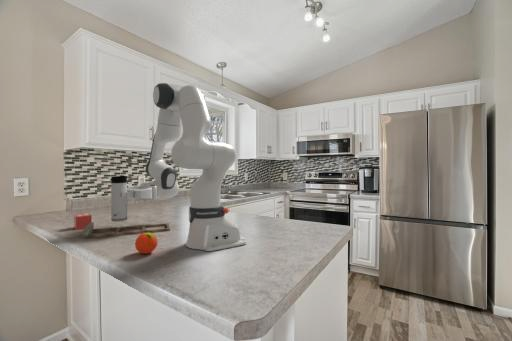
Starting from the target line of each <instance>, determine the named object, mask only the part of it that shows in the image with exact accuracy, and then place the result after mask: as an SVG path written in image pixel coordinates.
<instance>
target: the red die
mask: <svg viewBox="0 0 512 341" xmlns="http://www.w3.org/2000/svg"><path fill="white" fill-rule="evenodd" d="M90 223H92V214H90V213H82V214H81V213H80V214H73V228H74V230H75V231H77V230H84V228H85V227H86V226H87V225H88V224H90Z"/></svg>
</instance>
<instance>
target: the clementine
mask: <svg viewBox="0 0 512 341" xmlns="http://www.w3.org/2000/svg"><path fill="white" fill-rule="evenodd" d="M157 246H158V238H157V235H155V234H154V232H151V233H150V232H146V233H140V234H139V235H138V236H136V240H135V243H134V247H135V249H136V250H137V252H139V253H140V254H143V255H146V254H150V253H152V252H153V251H155V250H156V248H157Z"/></svg>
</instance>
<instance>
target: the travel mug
mask: <svg viewBox="0 0 512 341" xmlns="http://www.w3.org/2000/svg"><path fill="white" fill-rule="evenodd" d="M110 178H111V179H110V181H111V183H110V191H111V192H110V195H111V197H110V199H111V200H110V201H111V202H110V204H111V205H110V208H111V209H110V210H111V211H110V213H111V214H110V215H111V222H123V221H124V222H125V221H127V220H128V197H121V196H120V193H121V192H127V188H128V176H127V175H123V174H122V175H115V176H111V177H110Z"/></svg>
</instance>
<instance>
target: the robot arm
mask: <svg viewBox="0 0 512 341" xmlns="http://www.w3.org/2000/svg"><path fill="white" fill-rule="evenodd" d="M152 98H153V102H154V105H155V106H156V107H157V108H159V111H158V116H157V126H156V131H155V132H154V135H153V139H152V144H151V150H150V155H149V158H148V161H147V163H146V166H145V173H146V174H147V176H148V177H150V178H152V179H154V182H153V181H151V182H150V181H148V182H142V183H141V184H140V185H138V187H127V192H121V193H120V196H121V197H127V198H132V199H134V198H135V199H141V200H142V201H143V202H146V201H157V200H165V199H171V198H174V197H175V196H177V195H178V194H179V191H180V186H179V183H178V181H177V178H178V173H177V172H178V171H177V170H176V168H175V167H172V166H171V165H169V164H167V163H165V160H164V155H165V153H164V152H165V148H166V145H167V144H168V143H172V142H174V141H176V142H175V143H174V144H173V146H172V147H171V153H170V154H171V155H170V156H171V160H172V162H173V164H174V165H175V166H176V167H178V168H181V169H186V170H202V173H201V175H200V177H199V178H198V179H197V180H195V181H194V182H193V183H192V184H191V187H190V194H189V195H190V200H189V201H190V206H189V208H188V209H189V210H188V220H189V221H188V222H189V229H188V234H187V240H186V243H185V246H186V247H187V248H189V249H193V250H202V251H207V252H213V251H219V250H224V249H229V248H234V247H238V246H239V247H241V246H243V245H246V244H247V239H246V237H245V236H244V235H241V231H240V228H239V225H238V224H236V223H235V222H234V221H233V220H232V219H231V218H230V217H228V216H226V214H229V213H230V209H229V208H228V207H224V206H222V205H221V191H222V183H223V180H224V178H225V175H226V173H227V171H228V170H229V169H230V168H231V167H232V166H233V165H234V163H235V161H236V150H235V149H234V147H233V145H231V144H229V143H226V142H222V141H216V140H207V139H206V138H205V135H207V134H208V133H209V132H210V131H211V129H212V124H213V123H212V119H211V116H210V113H209V109H208V105H207V103H206V99H205V98H206V97H205V95H204V92H202V91H201V90H200V89H199V87H197V86H195V85H190V84H188V85H184V86H183V85H179V84H173V83H172V84H170V83H166V82H161V83H160V82H159V83H157V84H156V85H155V86H154V89H153V93H152ZM180 136H181V137H180Z"/></svg>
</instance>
